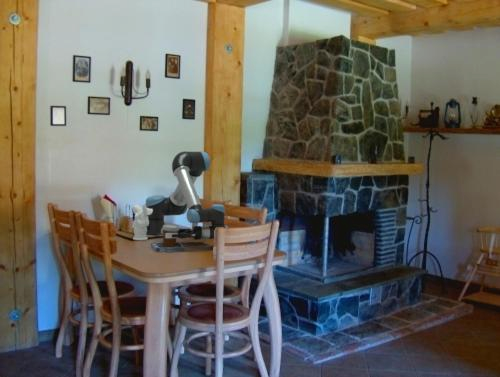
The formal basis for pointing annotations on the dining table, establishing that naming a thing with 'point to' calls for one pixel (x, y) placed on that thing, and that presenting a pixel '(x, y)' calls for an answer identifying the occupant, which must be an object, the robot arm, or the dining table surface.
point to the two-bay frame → (182, 246)
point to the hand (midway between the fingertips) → (163, 233)
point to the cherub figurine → (141, 221)
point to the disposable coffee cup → (169, 229)
